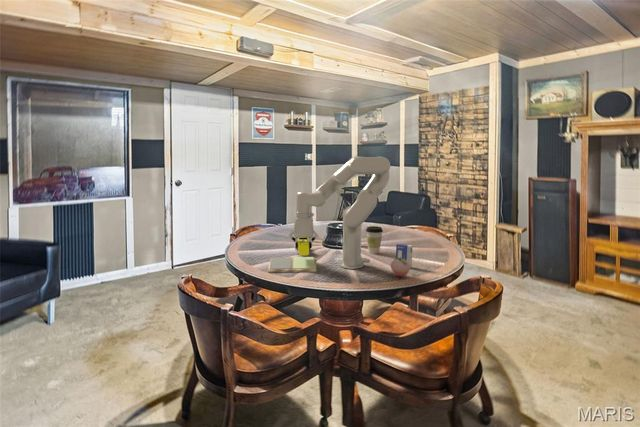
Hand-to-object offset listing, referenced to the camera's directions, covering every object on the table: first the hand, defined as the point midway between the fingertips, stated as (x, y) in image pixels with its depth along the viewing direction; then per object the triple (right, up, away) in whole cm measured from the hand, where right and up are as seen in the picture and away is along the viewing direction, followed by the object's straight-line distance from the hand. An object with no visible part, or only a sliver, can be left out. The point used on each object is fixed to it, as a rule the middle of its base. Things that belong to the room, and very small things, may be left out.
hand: (303, 249), depth 205 cm
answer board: (-6, -9, +1) cm, 11 cm away
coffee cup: (+41, -5, +27) cm, 49 cm away
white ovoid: (-2, -4, +27) cm, 28 cm away
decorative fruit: (+47, -12, -16) cm, 52 cm away
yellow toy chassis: (0, -2, +2) cm, 3 cm away
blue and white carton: (+52, -9, 0) cm, 53 cm away
